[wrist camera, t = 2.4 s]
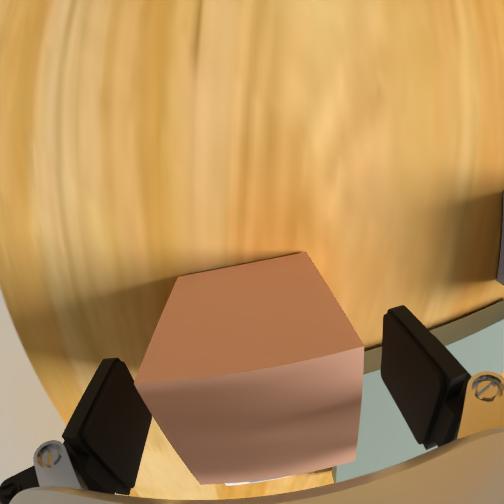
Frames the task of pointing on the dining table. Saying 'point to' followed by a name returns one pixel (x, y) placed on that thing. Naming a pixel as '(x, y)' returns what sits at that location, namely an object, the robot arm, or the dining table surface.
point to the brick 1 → (255, 372)
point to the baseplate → (385, 409)
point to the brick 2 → (501, 254)
